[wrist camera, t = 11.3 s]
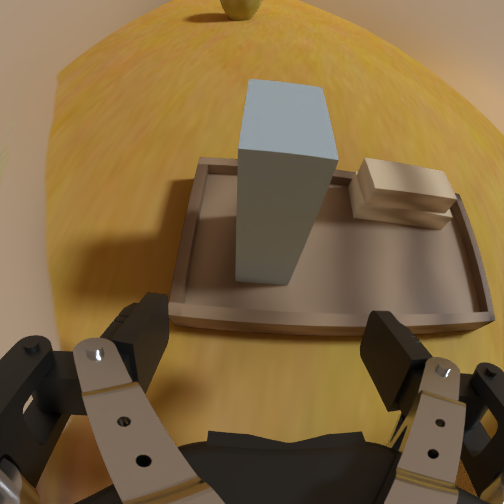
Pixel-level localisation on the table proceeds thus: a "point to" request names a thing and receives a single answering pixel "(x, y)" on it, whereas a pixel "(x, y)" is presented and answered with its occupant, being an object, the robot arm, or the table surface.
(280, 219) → the blue-grey rectangular block
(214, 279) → the brown serving tray
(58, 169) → the table surface
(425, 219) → the offcut stack
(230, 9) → the green bowl
